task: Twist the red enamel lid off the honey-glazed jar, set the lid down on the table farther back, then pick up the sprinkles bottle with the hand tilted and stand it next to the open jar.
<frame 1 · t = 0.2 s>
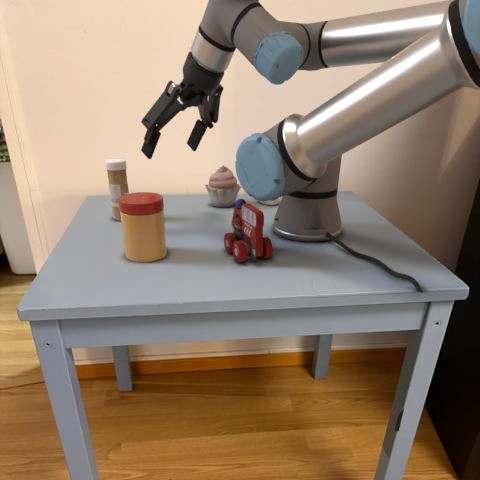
hand: (169, 150, 101), 16 cm above the table, tool tilted 35°, fingers open, 13 cm apart
jar: (146, 254, 89), on the table
lid: (140, 200, 84), point 11 cm above the table, screwed on, not yet turned
sprinkles bottle: (122, 219, 109), on the table
toy fire truck: (246, 255, 90), on the table
cupcake: (223, 205, 120), on the table
eye dropper bottle: (267, 203, 121), on the table
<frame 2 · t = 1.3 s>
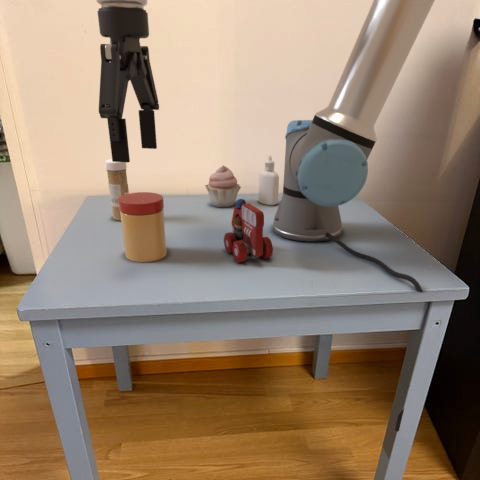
hand: (136, 154, 80), 19 cm above the table, tool pointing down, fingers open, 12 cm apart
nothing on the table moved.
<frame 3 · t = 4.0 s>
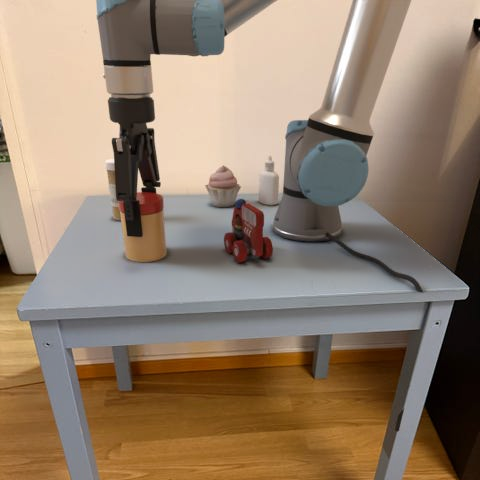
hand: (143, 228, 86), 5 cm above the table, tool pointing down, fingers closed on lid, 8 cm apart
lid: (140, 200, 84), point 11 cm above the table, screwed on, not yet turned, touching gripper
everything else where it was.
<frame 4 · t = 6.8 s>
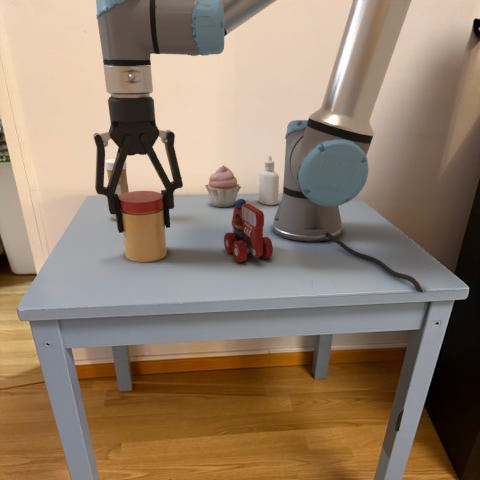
hand: (144, 227, 86), 5 cm above the table, tool pointing down, fingers closed on lid, 8 cm apart
jar: (146, 254, 89), on the table, touching gripper
lid: (141, 198, 84), point 11 cm above the table, off its thread, touching gripper
everything else where it was.
when the fingers open (0 cm above the table, at t = 15.2 s): lid drops 2 cm, point 1 cm above the table.
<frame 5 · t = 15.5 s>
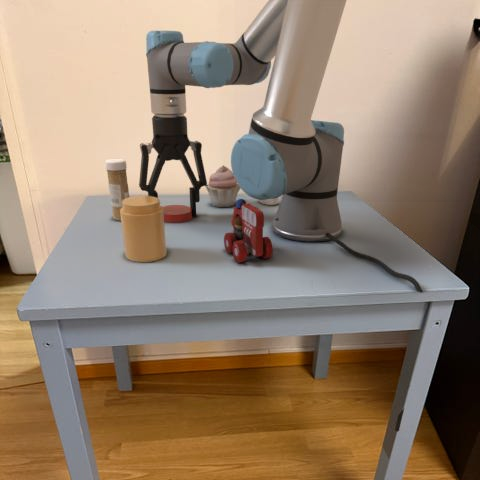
hand: (175, 217, 110), 0 cm above the table, tool pointing down, fingers open, 8 cm apart
jar: (146, 254, 89), on the table
lid: (175, 211, 109), point 1 cm above the table, off its thread
everything else where it was.
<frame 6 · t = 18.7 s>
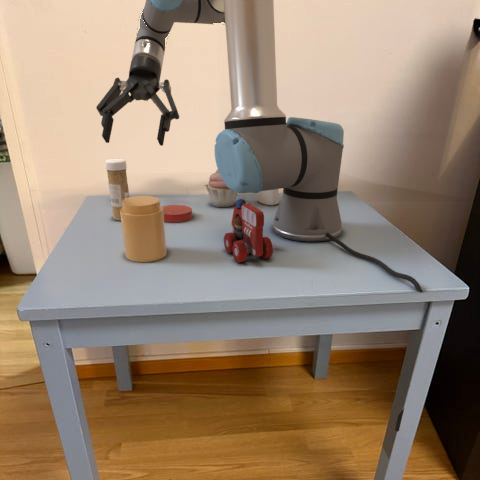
hand: (132, 140, 109), 16 cm above the table, tool tilted 45°, fingers open, 13 cm apart
nothing on the table moved.
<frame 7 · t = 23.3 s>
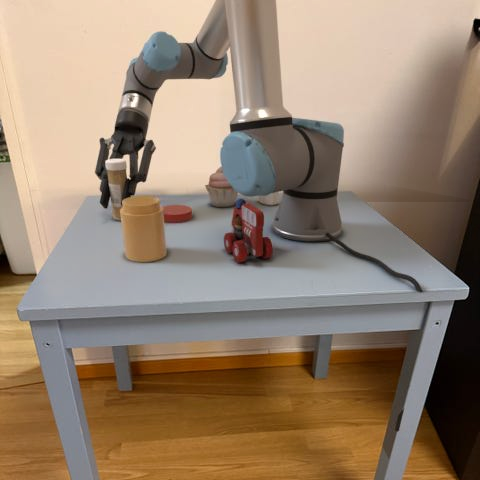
hand: (113, 206, 103), 4 cm above the table, tool tilted 45°, fingers closed on sprinkles bottle, 4 cm apart
sprinkles bottle: (122, 219, 109), on the table, touching gripper
everything else where it was.
when the fingers open (4 cm above the table, at t = 31.8 s): sprinkles bottle stays where it is, on the table.
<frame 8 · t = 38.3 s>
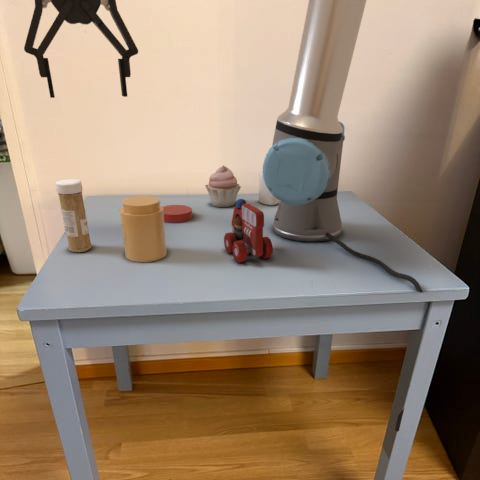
hand: (89, 96, 89), 27 cm above the table, tool pointing down, fingers open, 13 cm apart
sprinkles bottle: (80, 249, 91), on the table
everything else where it was.
at the end: lid came off its thread; lid inside the target area (0.2 cm from its centre), point 1.5 cm above the table; sprinkles bottle 13.9 cm from the jar (horizontally) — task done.
